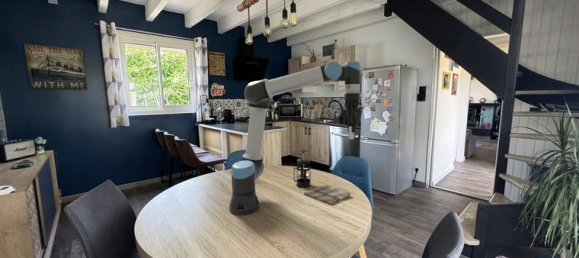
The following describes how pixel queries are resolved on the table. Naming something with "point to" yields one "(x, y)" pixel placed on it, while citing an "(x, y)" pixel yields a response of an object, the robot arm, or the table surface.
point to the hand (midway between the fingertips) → (351, 138)
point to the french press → (303, 172)
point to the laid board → (322, 197)
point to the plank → (333, 191)
